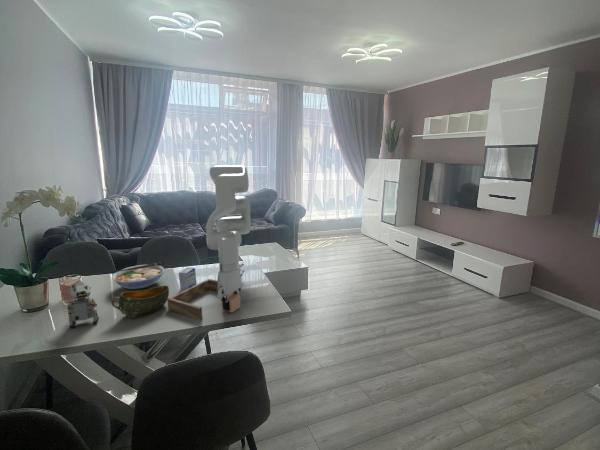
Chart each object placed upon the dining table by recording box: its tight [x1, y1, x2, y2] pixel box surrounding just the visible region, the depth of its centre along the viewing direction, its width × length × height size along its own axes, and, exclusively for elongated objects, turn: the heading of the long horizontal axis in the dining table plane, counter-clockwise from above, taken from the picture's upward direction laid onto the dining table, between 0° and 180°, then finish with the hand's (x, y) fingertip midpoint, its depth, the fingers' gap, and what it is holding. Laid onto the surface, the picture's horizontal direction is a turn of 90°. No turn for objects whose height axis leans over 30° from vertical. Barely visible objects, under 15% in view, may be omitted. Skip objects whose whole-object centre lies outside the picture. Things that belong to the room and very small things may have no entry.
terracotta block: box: [220, 293, 242, 313], centre depth 133 cm, size 6×6×6 cm
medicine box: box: [178, 266, 197, 291], centre depth 156 cm, size 8×4×9 cm, turn 168°
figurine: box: [66, 282, 100, 330], centre depth 123 cm, size 9×12×15 cm
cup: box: [110, 285, 170, 319], centre depth 132 cm, size 13×20×10 cm, turn 107°
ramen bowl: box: [108, 261, 165, 290], centre depth 157 cm, size 25×23×8 cm
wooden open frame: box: [166, 278, 218, 321], centre depth 140 cm, size 24×18×5 cm
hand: (231, 306), depth 134 cm, fingers closed on terracotta block, 5 cm apart
